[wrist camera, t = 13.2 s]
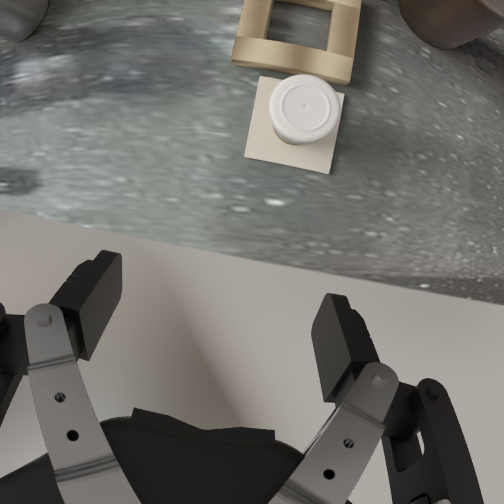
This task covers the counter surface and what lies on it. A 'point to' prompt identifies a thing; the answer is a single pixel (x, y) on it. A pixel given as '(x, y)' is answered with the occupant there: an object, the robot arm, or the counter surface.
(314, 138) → the sprinkles bottle
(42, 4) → the robot arm
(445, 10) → the pillar candle
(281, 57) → the collar
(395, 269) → the counter surface
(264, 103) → the tile
